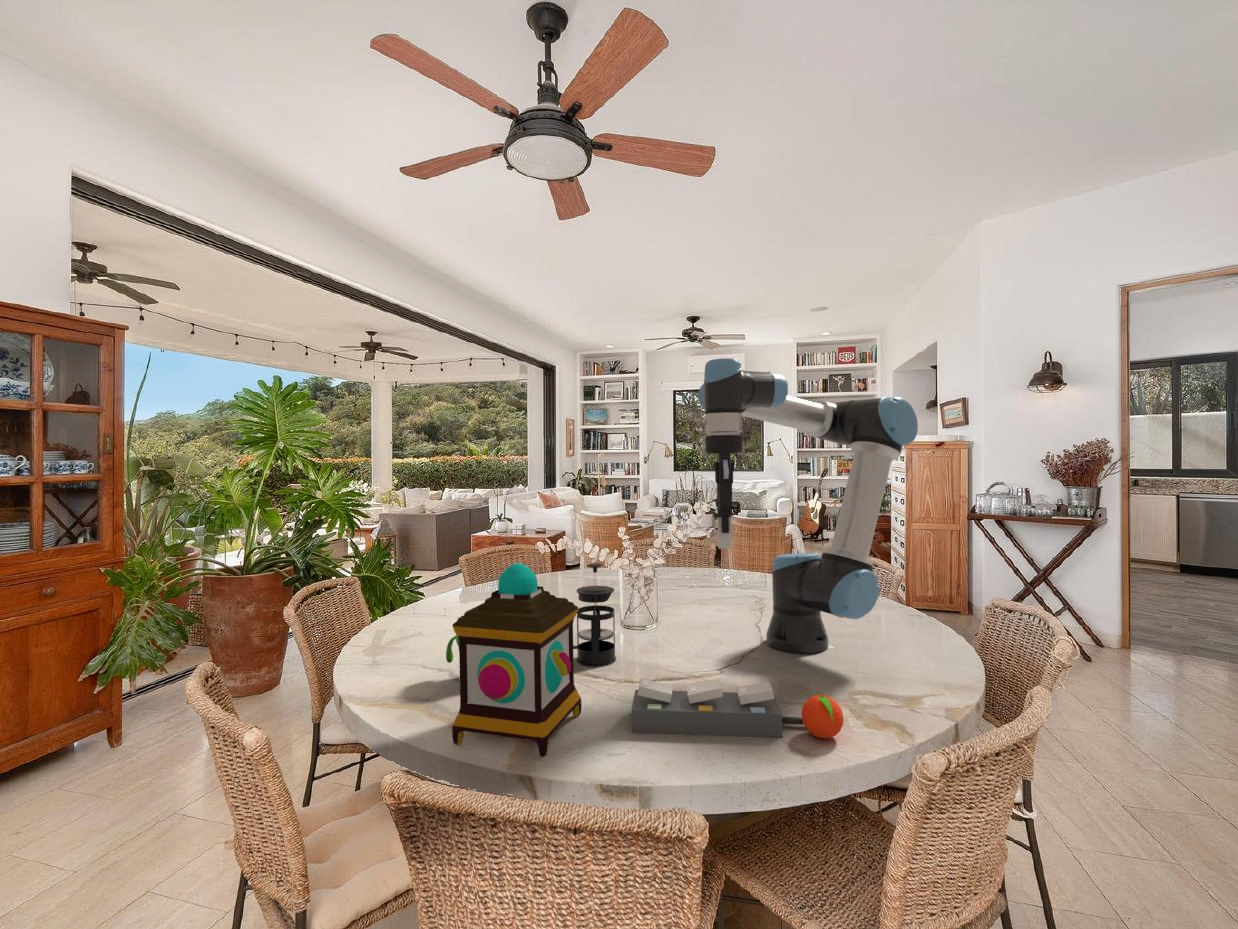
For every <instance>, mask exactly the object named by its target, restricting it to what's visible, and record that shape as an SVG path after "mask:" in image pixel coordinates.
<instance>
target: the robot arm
mask: <svg viewBox="0 0 1238 929" xmlns="http://www.w3.org/2000/svg"><path fill="white" fill-rule="evenodd" d="M788 394H789V383H788V381H787V378H786V377H785V376H784V375H782V374H781V373H776V372H771V371H750V370H748V371H747V370H743V368H742V362H741V360H740V359H738V358H731V357H730V358H729V357H725V358H723V357H722V358H714V359H711V360H708V361H707V362H706V363H705V366H704V379H703V383H702V384H701V385H700V387H699V390H698V394H697V400H698V404H699V405H700V407H701V408H702V409H703V410H704V416H705V418H703V419H701V420H702V421H701V423H702V424H705V427H704V428H705V433H706V434H708V435H706V436H705V439H704V440H705V443H704V446H705V447H704V448H705V450H704V451H705V453H706V454H711V455H712V454H713V455H715V454H716V455H717V458H716V459H717V462H713V470H714V473H715V474H714V477H715V478H714V481H715V484H716V503H717V504H716V505H717V506H716V514H714V516H715V518H717V548H718V549H719V550H721V549H722V550H726V549H730V550H731V549H732V548H733V539H732V538H733V537H732V535H733V534H732V533H733V532H732V528H733V527H732V523H733V522H732V517H734V514H735V513H734V512H733V483H734V471H735V462H733V461H732V460H731V454H741V453H742V452H743V436H742V435H740V433H742V432H743V417H746V418H750V419H754V420H758V421H761V422H766V423H771V424H776V425H780V426H783V427H787V428H792V429H795V430H800V431H805V433H807V435H808V436H810V437H812V438H816V439H820V440H824V441H828V442H832V443H835V444H839V445H844V446H849V448H850V450H851V451H852V452H853V459H852V462H851V466H850V470H849V474H848V477H847V481H846V484H845V485H846V486H845V489H844V493H843V497H842V502H841V505H840V510H839V514H838V518H837V522H836V524H835V525H836V526H835V528H834V533H833V537H832V541H831V544H830V546H829V548H827V549H825V550H824V551H822V553H821V554H819V553H818V552H817V553H816V552H800V553H798V552H797V553H786V554H780V555H779V554H778V555H776V556H775V558H774V559H773V561H772V570H771V573H772V574H771V575H772V579H771V580H772V615H771V618H770V620H769V625H768V627H767V630H766V634H765V636H766V637H765V639H766V640H765V641H766V644H767V645H768V646H769V647H771V648H773V649H775V650H779V651H782V652H785V653H795V654H815V653H820V652H824V651H826V650H827V649H828V648H829V636H828V633H827V631H826V627H825V624H824V621H823V618H822V616H821V615H822V614H821V613H827V614H828V615H833V616H835V617H837V618H843V619H844V618H845V619H849V620H858V619H861V618H862V619H863V618H864V617H865V615H868V614H869V613H870V612H872V610H873V609H874V607H875V606H876V604H877V602H878V599H879V595H880V585H879V579H878V577H877V575H875V573H873V569H874V564H873V563H872V561H871V559H870V553H871V547H872V543H873V539H874V536H875V533H876V532H875V531H876V527H877V522H878V519H879V514H880V511H881V507H882V503H883V498H884V494H885V490H886V486H887V481H888V478H889V474H890V469H891V464H892V462H893V461H895V460H896V459H898V458H900V457H901V454H902V449H903V446H908V445H910V444H911V443H913V442H914V441H915V439H916V437H917V435H918V429H919V428H918V427H919V426H918V425H919V424H918V418H917V413H916V412H915V409H914V407H913V406H912V405H911V403H910V402H909V401H908V400H906V399H905V398H904V397H900V396H882V397H877V398H868V399H866V398H865V399H857V400H846V401H835V402H834V401H833V402H831V401H826V400H815V401H814V402H813V401H809V400H807V399H803V398H799V397H795V396H793V395H788ZM731 461H732V462H731Z"/></svg>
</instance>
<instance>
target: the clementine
mask: <svg viewBox="0 0 1238 929" xmlns="http://www.w3.org/2000/svg"><path fill="white" fill-rule="evenodd" d="M800 714H801V716H800V717H802V721H803V724H804V725H803V726H804V728H805V729H806V731H808V733H810V734H811V735H813V736H814V737H817V738H819V739H831V738H834V737H835V736H837V735H838V734H839V733H840V732H841V730H842V728H843V727H844V713H843V711H842V708H841V706H840V705H839V704H838V703H837V701H836V700H835V699H833V698H831V697H830V696H827V695H825V694H817V695H813V696H811V697H809V698H808V699H807V700H805V702H804V703H803V706H802V708H801V713H800Z"/></svg>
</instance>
